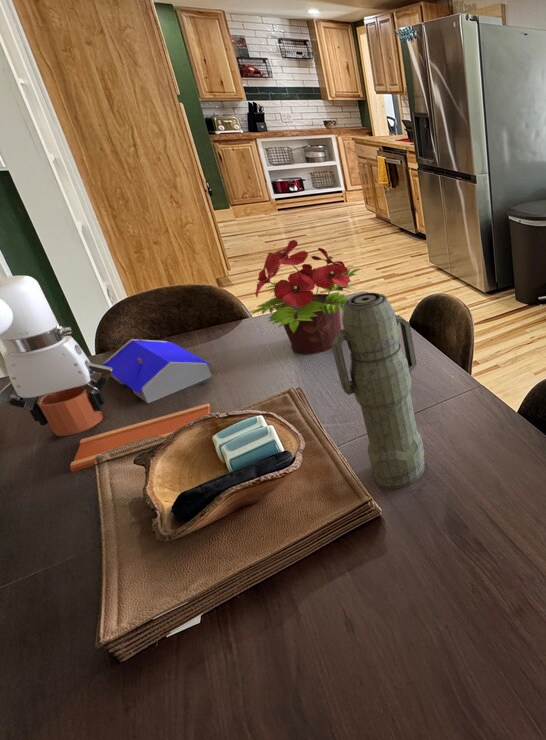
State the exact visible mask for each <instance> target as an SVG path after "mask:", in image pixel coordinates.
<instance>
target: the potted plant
mask: <svg viewBox="0 0 546 740" xmlns="http://www.w3.org/2000/svg"><path fill="white" fill-rule="evenodd" d="M298 244H299V243H298V241H297V240H295V239H292V240H290V241H288V243H287V246H285V247H283V248H281V249H277V250H276V251H275V252H269V253H268V254H267V256H266V258H265V262H264V265H263V268H262V269H261V270H260V271H259V272H258V278H257V280H258V281H256V289H255V293H254V296H255V297H256V298H259V293H260V291H261V289H262V288H263V287H264V285H266V284H271V285H269V286H266V287H265V289H268V294H271V293H273V296H272V298H270V299H269V300H267V301H264V303H262V304H258V305H257V306H256V307H257V309H255V310H254V311H253V312H252V313H251V314H250V315H251V316H253V315H254V314H256V313H259V312H261V315H264V314H265V313H266V312H267V311H269V313H270V314H271V315H270V316H269V317H268V322H269V323H270V322H272V325H273V324H279V323H280V324H279V325H278V327H277V328H280V327H283V329H284V331H285V332H286V333H285V334H286V335H287V338H288V340H289V342H290V347H291V350H292V352H294V353H296V354H299V355H312V354H318V353H322V352H326V351H328V350H332V345H331V343H332V341H333V339H334V337H335V335H336V334H337V333H340V330H342V323H341V322H342V321H341V314H340V312H341V311H342V312H343V309H344V304H345V302H346V301H347V300H348V299H349V297H345V296H346V293H341V294H340V292H348V293H351V291H350V290H351V289H352V290H353V291H354V290H356V287H357V285H354V284H353V285H352V284H349V283H351V282H352V281H351V279H350V277H353V276H357V274H356V272H359V271H360V270H362V269H363V268H355V269H353V270H351V268H348V267H346V265H345V263H344V262H343V261H342V260H336V261H333V259H334V257H333V256H332V255H329V253H328V252H327V250H326V249H324V248H321V247H318V248H317V250H318V251H319V252H320V253H321V254H322V255H323V257H325V258H321V257H319V256H316V255H312V256H310V258H311V259H312V260H314V261H325V262H326V265H323V266H319V267H318V266H317V267H316V268H315V267H314V268H313V266H312V265H311V264H310V263H304V262H305V261H306V260H307V258H308V256H309V253H308V252H307V251H305V250H300V251H297V252H295V253H294V254H291V255H290V253H291V252H292V251H293V250H294V249H295V248H297V247H298ZM289 255H290V256H289ZM301 264H302V265H301ZM281 265H285V266H292V267H293V268H294V269H295V270H296V272H292V273H290V274H289V275H288V277H287V279H280V280H279V281H277V282H271V279H272V278H274V277H275V276H276V275H277V273H278V272H279V270H280V269H281V267H280V266H281ZM299 265H301V269H300V270H299V269H298V268H297V267H296V266H299ZM266 273H267V274H266ZM352 287H353V288H352ZM354 287H355V288H354ZM269 288H271V289H269ZM315 288H317V289H316V293H314V292H313V291H314V289H315ZM319 288H322V289H323V290H324V291H326V292H325V293H318V292H319ZM346 289H349V290H346ZM331 292H332V293H331ZM274 310H276V311H275V312H273V311H274ZM340 310H341V311H340Z"/></svg>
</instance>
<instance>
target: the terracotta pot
mask: <svg viewBox="0 0 546 740" xmlns="http://www.w3.org/2000/svg"><path fill="white" fill-rule="evenodd" d="M89 395H90V392H88V391H86V390H85V389H83V388H81V387H76V388H72V389H68V390H64V391H59V392H55V393H51V394H47V395H42V396H41V398H38V400H37V401H38V402H37V404H38V406H39V408H40V410H41V411H42V413H43V415H44V417H45V419H46V420H47V422H48V423H47V425H48V426H49V427H50V429H51V431H52V432H53V434H54V435H55V436H57V437H67V436H73V435H77V434H79V433H82V432H85V431H88V430H89V429H91V428H93V427H96V425H98V424H99V423H100V422H102V420H103V418H104V416H103V413H102V410H100V411H96V410H95V408H94V406H93V404H92V402H91V400H90V398H89Z"/></svg>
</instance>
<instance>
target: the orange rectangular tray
mask: <svg viewBox="0 0 546 740" xmlns="http://www.w3.org/2000/svg"><path fill="white" fill-rule="evenodd" d="M208 414H210V415H211V405H210V402H208V403H205V404H201V405H197V406H194V407H190V408H187V409H183V410H181V411H175V412H173V413H171V414H165V415H163V416H159V417H155V418H151V419H148V420H145V421H141V422H137V423H134V424H131V425H127V426H124V427H120V428H116V429H113V430H109V431H106V432H102V433H99V434H95V435H92V436H91V435H90V436H88V437H85V438H81V439H80V441H79V447H78V449H77V451H76V454H75V456H74V458H73V461H71V463H70V466H69V467H70V468H69V470H70V471H71V473H74V472H78V471H81V470H84V469H87V468H90V467H94V466H95V465H94V462H95V457H96V456H97V455H100V454H102V453H105V452H106V451H108V450H110V449H113V448H117V447H120V446H123V445H125V444H128V443H131V442H135V441H138V440H142V439H145V438H148V437H152V436H156V435H158V436H167V435H169V434H171V433H172V432H174V431H176V430H177V429H179V428H181V427H183V426H185V425H187V424H189V423H190V422H192V421H193V420H195V419H198V418H201V417H203V416H205V415H208Z"/></svg>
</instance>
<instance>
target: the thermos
mask: <svg viewBox="0 0 546 740" xmlns="http://www.w3.org/2000/svg"><path fill="white" fill-rule="evenodd" d="M341 322H342V323H341V324H342V327H343V329H342V328H341V330H340V333H337V334H336V335H335V337H334V339H333V341H332V343H331V345H332V348H331V350H332V353H333V357H334V361H335V364H336V369H337V374H338V378H339V381H340V384H341V388H342V390H343V392H344V393H345V394H346V395H347V396H349V395H352V394H354V397H355V400H356V402H357V403H358V404H359V406H360V408H361V413H362V417H363V422H364V426H365V430H366V434H367V435H366V436H367V440H368V447H367V455H368V459H369V462H370V463H369V464H370V467H371V470H372V473H373V474H374V480H375V483H376V484H377V485H378V486H379V487H380V488H383V489H385V490H397V489H402V488H405V487H407V486H410V485H412V484H414V483H415V482H416V481H418V480H419V479H420V477H422V475H423V474H424V472H425V469H426V460H425V449H424V443H423V440H422V439H423V438H422V435H421V434H420V432H419V431H418V428H417V423H416V417H415V412H414V407H413V401H412V396H411V390H412V385H413V384H412V377H411V375H412V372H413V371H414V369H415V368H416V366H417V363H418V362H417V360H416V353H415V347H414V342H413V341H414V340H413V335H412V329H411V324H410V322H409V321H408V320H407V319H405V318H404V317H402V316H401V315H400V314H397V315H396V313H395V310H394V308H393V306H392V304H391V303H390V301H389V300H388V298H387V296H386V295H384V294H382V293H379V292H363V293H359V294H356V295H354V296H351V297H350V298H348V299H347V301H346V302H345V304H344V309H343V311H342V316H341ZM399 325H400V330H401V335H402V341H403V348H404V351H402V345H401V343H400V341H399V339H400V335H399V328H398V326H399ZM344 341H346V344H347V348H348V350H349V351H350V354H349V358H350V365H349V374H348V369H347V365H346V361H345V356H344V353H343V349H342V344H343V342H344ZM404 353H405V354H404ZM349 376H350V378H349Z"/></svg>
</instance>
